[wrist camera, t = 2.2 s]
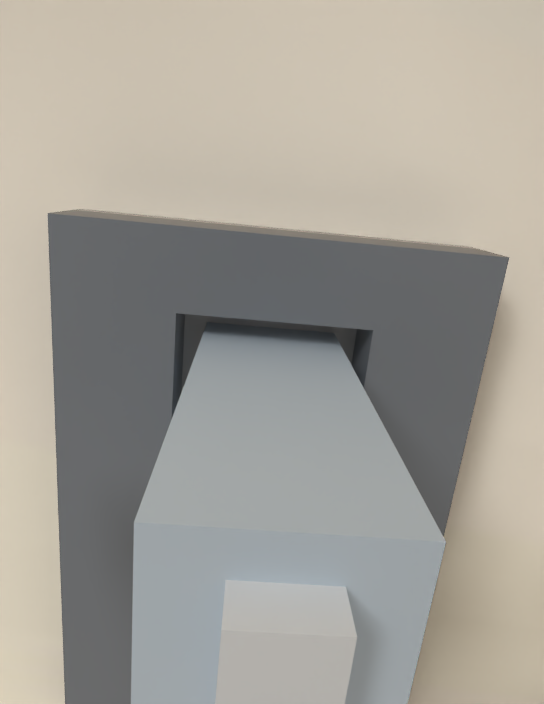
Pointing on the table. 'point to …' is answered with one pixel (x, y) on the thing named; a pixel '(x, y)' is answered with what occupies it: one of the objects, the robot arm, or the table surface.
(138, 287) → the jack panel
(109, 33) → the table surface
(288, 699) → the plug
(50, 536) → the table surface
